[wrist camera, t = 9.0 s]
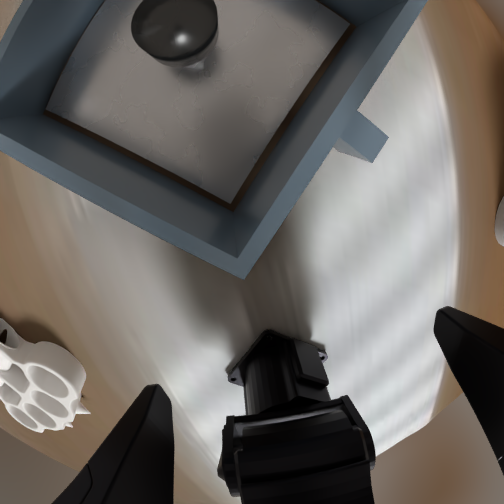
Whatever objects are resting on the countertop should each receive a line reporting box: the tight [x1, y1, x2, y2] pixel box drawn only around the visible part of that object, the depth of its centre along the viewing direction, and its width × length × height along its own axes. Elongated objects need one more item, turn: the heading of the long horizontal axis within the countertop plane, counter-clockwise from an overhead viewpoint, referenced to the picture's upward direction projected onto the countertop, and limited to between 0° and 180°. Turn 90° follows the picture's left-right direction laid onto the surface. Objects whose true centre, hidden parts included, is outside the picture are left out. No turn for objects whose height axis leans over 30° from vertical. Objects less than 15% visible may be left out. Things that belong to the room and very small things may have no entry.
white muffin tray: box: [0, 318, 91, 433], centre depth 23 cm, size 3×18×15 cm
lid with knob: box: [46, 0, 350, 204], centre depth 10 cm, size 13×13×6 cm
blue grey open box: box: [0, 0, 428, 280], centre depth 11 cm, size 15×17×6 cm
